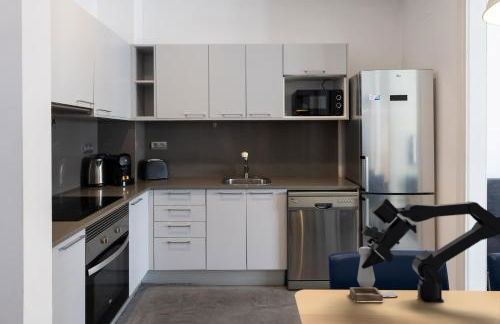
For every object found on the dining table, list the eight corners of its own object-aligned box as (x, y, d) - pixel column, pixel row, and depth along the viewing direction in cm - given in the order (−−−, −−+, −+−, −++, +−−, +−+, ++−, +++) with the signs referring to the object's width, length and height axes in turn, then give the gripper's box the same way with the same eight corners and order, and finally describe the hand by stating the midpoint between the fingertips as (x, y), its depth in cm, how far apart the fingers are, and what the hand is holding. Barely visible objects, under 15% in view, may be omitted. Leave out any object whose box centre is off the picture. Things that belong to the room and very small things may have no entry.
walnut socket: (376, 294, 147) (375, 287, 147) (382, 302, 138) (382, 295, 138) (349, 294, 148) (349, 287, 148) (354, 302, 139) (354, 295, 139)
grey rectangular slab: (391, 293, 148) (391, 291, 148) (397, 297, 143) (397, 295, 143) (372, 293, 148) (372, 291, 148) (376, 297, 143) (376, 296, 143)
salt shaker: (375, 288, 139) (374, 249, 140) (357, 288, 141) (356, 248, 141) (374, 284, 145) (373, 245, 145) (357, 283, 146) (356, 245, 146)
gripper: (371, 213, 152) (340, 244, 153) (381, 220, 134) (347, 255, 135) (394, 235, 151) (363, 266, 152) (408, 244, 133) (373, 280, 134)
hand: (361, 266), depth 143 cm, fingers closed on salt shaker, 3 cm apart
